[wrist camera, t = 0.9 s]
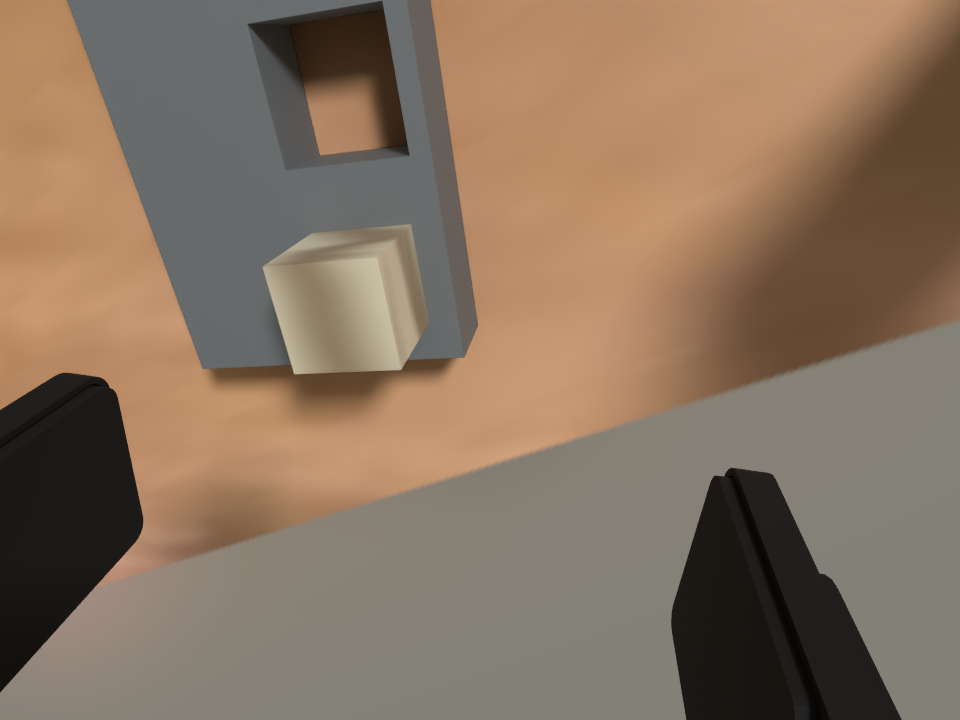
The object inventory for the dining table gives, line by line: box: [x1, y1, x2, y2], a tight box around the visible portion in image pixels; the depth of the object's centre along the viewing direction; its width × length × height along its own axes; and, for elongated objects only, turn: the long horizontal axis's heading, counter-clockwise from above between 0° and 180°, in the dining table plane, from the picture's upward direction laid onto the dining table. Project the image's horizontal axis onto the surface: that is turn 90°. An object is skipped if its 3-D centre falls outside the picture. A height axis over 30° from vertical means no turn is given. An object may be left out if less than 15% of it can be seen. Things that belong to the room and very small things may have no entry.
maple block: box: [263, 224, 429, 374], centre depth 28 cm, size 5×5×5 cm
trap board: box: [67, 0, 478, 369], centre depth 29 cm, size 15×28×4 cm, turn 7°
